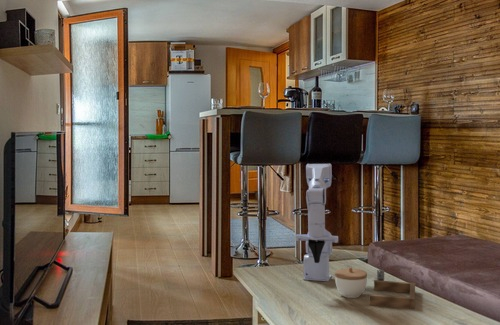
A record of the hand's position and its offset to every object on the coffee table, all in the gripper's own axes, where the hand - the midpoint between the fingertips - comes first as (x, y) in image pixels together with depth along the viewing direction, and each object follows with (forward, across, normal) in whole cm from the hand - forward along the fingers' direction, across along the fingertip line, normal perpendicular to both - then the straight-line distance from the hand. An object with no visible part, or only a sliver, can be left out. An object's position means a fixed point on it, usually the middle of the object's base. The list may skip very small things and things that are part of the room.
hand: (317, 262), depth 172 cm
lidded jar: (+11, +12, 0) cm, 16 cm away
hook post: (+10, +21, +10) cm, 25 cm away
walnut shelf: (+10, +24, 0) cm, 27 cm away
